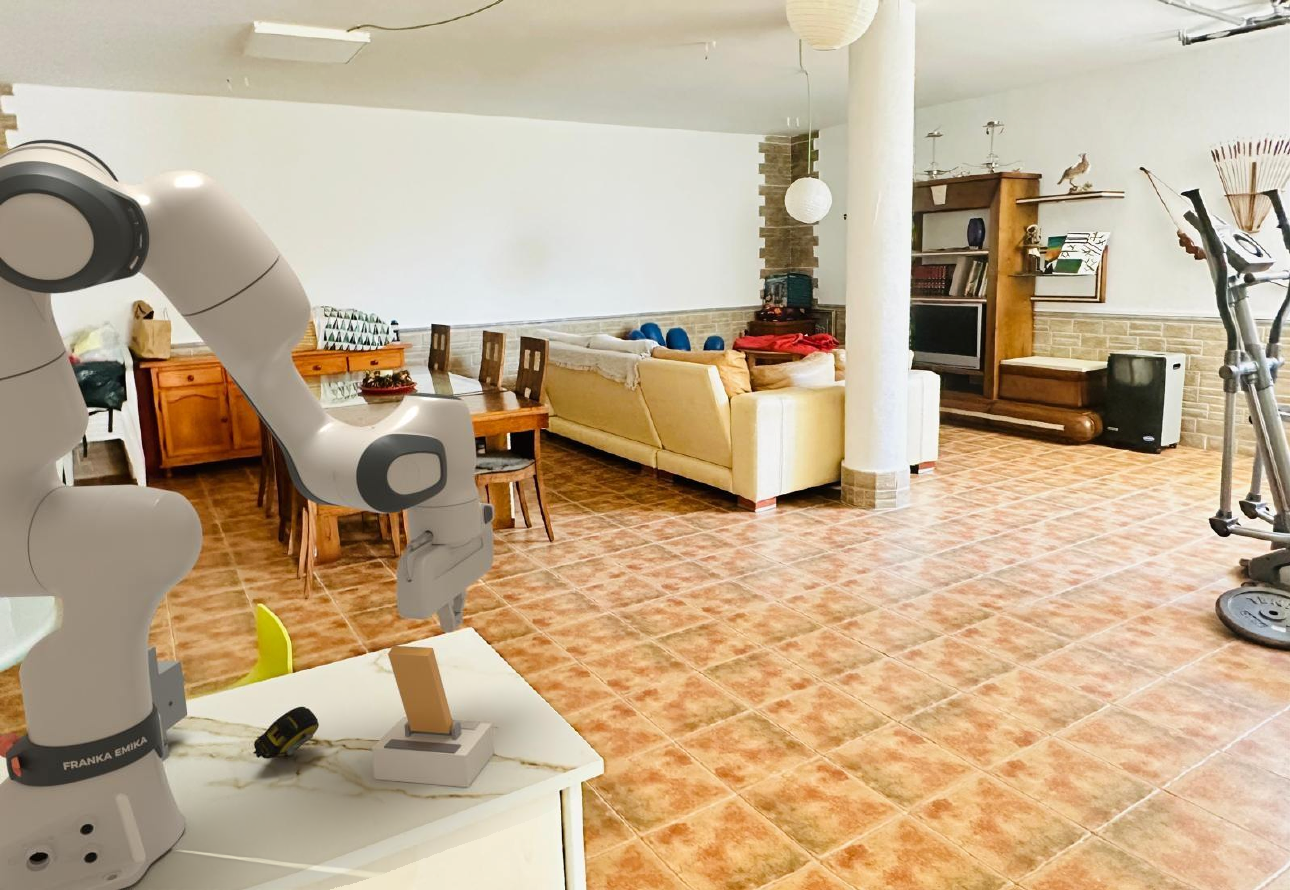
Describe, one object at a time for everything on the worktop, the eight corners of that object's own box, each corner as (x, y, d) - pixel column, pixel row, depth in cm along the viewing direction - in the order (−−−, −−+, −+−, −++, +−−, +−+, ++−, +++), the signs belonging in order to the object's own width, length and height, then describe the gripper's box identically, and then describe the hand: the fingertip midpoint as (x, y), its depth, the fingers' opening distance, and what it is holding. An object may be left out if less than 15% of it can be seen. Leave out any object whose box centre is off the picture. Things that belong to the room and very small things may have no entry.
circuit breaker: (198, 735, 117) (185, 628, 115) (125, 793, 103) (109, 673, 101) (146, 734, 118) (132, 628, 116) (67, 792, 104) (49, 672, 102)
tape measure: (290, 763, 111) (273, 740, 112) (332, 725, 112) (315, 702, 113) (264, 768, 105) (246, 743, 106) (309, 727, 106) (291, 703, 107)
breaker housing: (468, 787, 102) (465, 743, 101) (374, 779, 105) (370, 736, 104) (493, 753, 110) (491, 712, 109) (406, 746, 112) (402, 705, 112)
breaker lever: (450, 739, 106) (428, 656, 100) (412, 736, 107) (387, 653, 101) (455, 730, 107) (432, 647, 101) (417, 727, 108) (393, 645, 102)
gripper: (428, 546, 98) (437, 662, 100) (499, 503, 117) (505, 601, 120) (377, 544, 99) (387, 659, 102) (456, 502, 119) (463, 599, 121)
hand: (452, 627), depth 111 cm, fingers closed
